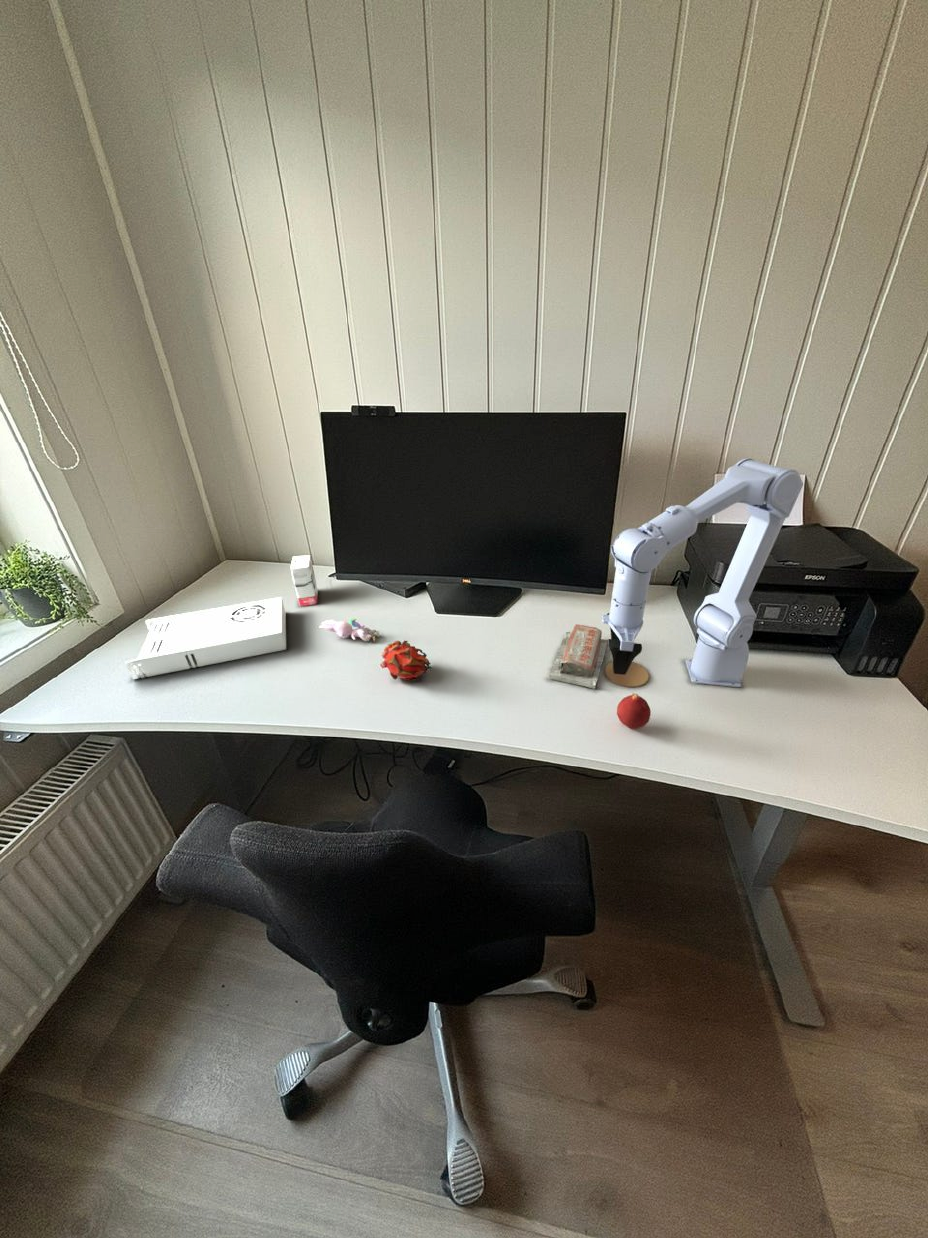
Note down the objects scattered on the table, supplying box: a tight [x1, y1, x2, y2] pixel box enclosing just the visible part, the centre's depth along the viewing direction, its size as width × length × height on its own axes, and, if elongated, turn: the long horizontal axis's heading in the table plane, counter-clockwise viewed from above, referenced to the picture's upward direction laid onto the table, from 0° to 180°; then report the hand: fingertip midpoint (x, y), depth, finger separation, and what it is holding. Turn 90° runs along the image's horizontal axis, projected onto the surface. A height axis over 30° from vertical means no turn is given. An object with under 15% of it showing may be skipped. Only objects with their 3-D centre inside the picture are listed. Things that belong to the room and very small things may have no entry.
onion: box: [616, 692, 652, 730], centre depth 88 cm, size 6×6×8 cm
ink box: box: [290, 555, 319, 607], centre depth 135 cm, size 8×5×12 cm, turn 13°
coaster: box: [604, 661, 650, 688], centre depth 104 cm, size 9×9×1 cm
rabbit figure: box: [318, 618, 380, 642], centre depth 118 cm, size 6×6×15 cm
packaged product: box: [548, 623, 608, 690], centre depth 107 cm, size 18×5×10 cm
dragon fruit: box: [379, 640, 432, 682], centre depth 104 cm, size 8×8×12 cm
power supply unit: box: [125, 596, 287, 680], centre depth 118 cm, size 19×33×5 cm, turn 108°
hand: (618, 660), depth 91 cm, fingers open, 7 cm apart
